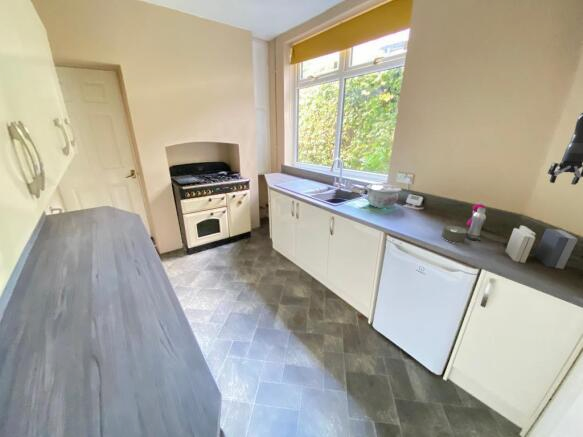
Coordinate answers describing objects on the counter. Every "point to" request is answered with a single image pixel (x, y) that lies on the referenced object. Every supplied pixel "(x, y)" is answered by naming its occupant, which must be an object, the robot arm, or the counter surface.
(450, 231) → the can
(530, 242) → the white books
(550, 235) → the grey books
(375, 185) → the chamber pot
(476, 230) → the plastic bottle
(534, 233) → the white book
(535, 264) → the counter surface
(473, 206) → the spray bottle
